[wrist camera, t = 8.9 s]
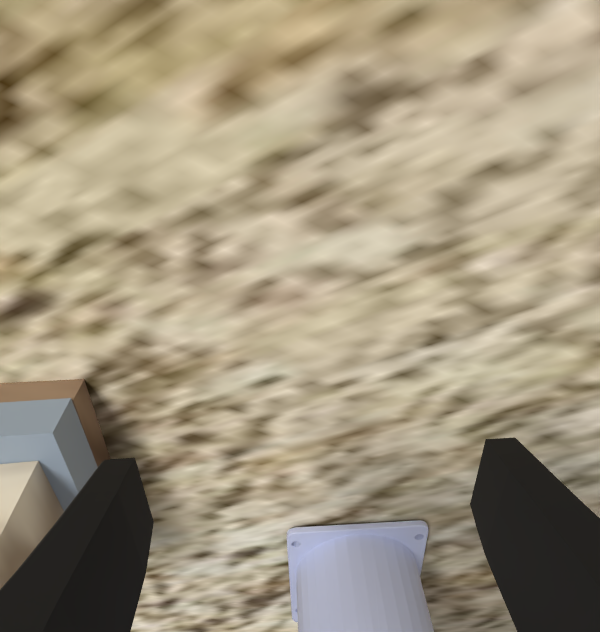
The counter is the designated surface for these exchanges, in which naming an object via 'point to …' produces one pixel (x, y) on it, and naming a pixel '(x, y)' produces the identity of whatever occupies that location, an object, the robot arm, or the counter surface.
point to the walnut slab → (60, 391)
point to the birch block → (24, 513)
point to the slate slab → (48, 443)
